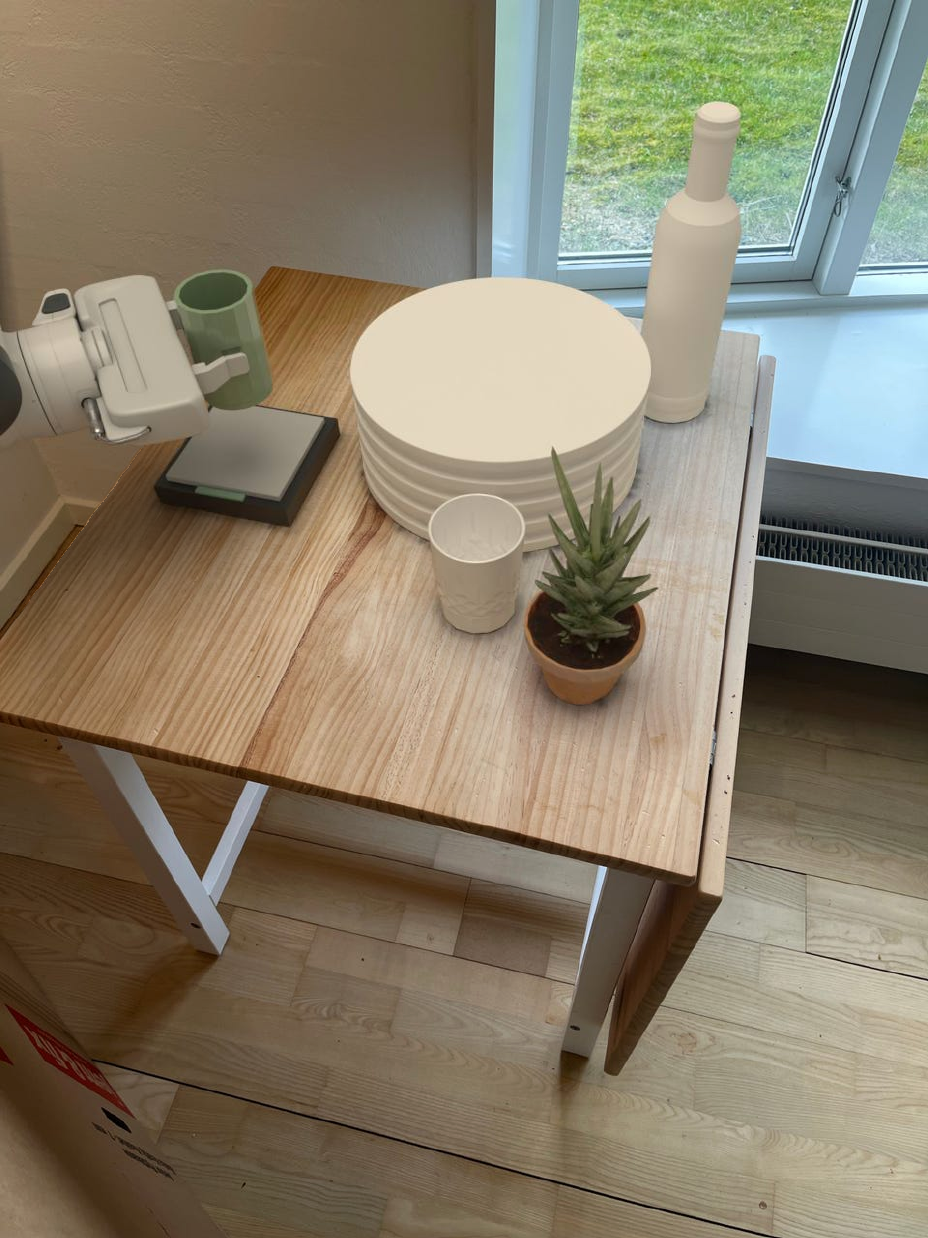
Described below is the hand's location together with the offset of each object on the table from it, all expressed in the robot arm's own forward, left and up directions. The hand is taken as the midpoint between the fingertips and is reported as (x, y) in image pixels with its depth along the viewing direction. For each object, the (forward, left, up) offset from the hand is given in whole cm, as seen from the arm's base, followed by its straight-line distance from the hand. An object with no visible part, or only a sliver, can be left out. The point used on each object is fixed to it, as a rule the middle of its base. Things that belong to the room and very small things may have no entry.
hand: (234, 333), depth 83 cm
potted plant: (+15, -36, -17) cm, 43 cm away
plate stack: (+22, -8, -17) cm, 29 cm away
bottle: (+42, -9, -17) cm, 46 cm away
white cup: (+11, -25, -17) cm, 32 cm away
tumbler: (-1, 0, -5) cm, 6 cm away
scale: (-1, +2, -17) cm, 17 cm away
